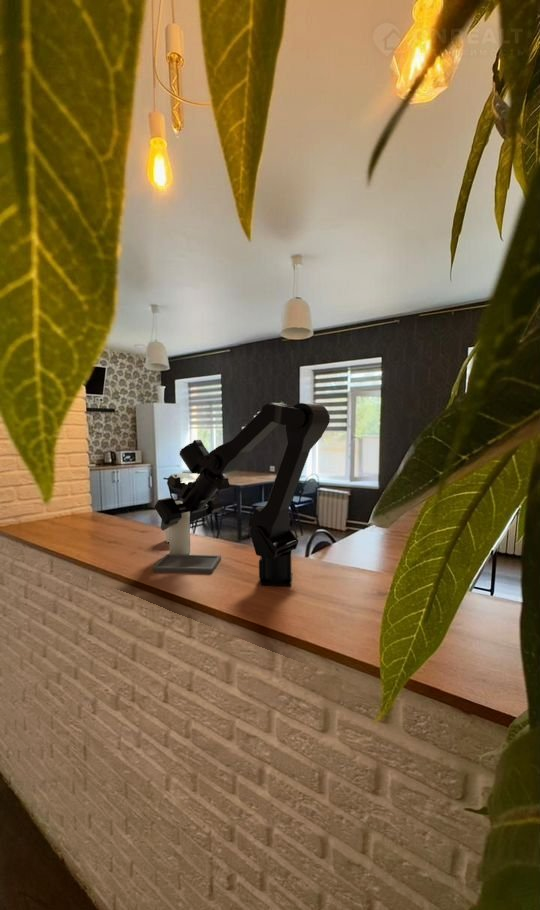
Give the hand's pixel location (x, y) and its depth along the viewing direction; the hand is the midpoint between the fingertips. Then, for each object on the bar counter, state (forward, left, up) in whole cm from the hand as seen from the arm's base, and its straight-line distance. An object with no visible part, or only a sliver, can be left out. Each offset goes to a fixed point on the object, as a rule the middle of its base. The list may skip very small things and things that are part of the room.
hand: (176, 525), depth 106 cm
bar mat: (-6, +10, -7) cm, 14 cm away
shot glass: (+4, -11, -8) cm, 14 cm away
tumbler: (-1, +1, -7) cm, 7 cm away
